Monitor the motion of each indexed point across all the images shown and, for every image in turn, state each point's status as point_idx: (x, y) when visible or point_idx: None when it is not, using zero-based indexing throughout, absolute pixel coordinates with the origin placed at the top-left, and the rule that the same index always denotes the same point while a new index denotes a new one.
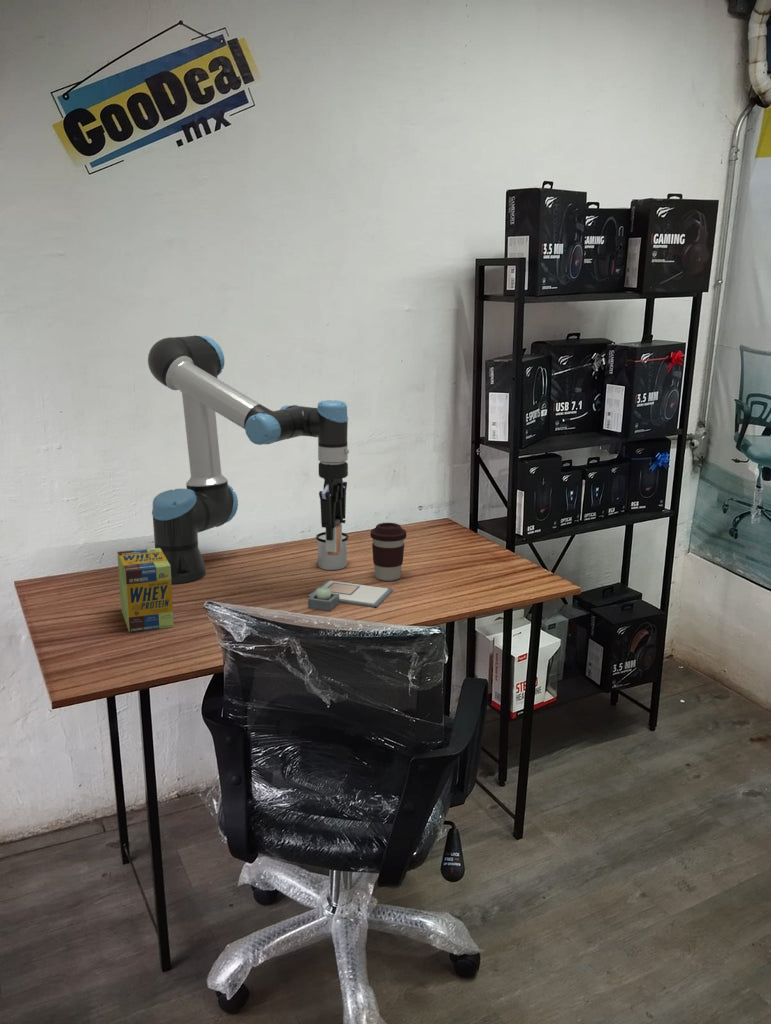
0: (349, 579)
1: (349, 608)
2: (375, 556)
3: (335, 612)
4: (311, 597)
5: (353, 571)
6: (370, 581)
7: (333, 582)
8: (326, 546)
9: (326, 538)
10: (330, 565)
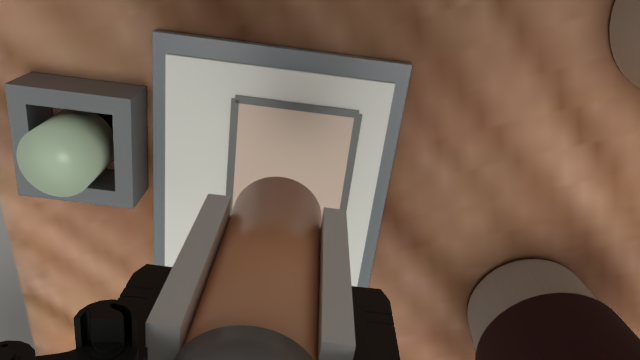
0: (470, 157)
1: (111, 239)
2: (515, 343)
3: (44, 198)
4: (31, 95)
5: (596, 148)
6: (456, 250)
7: (369, 109)
8: (198, 217)
9: (132, 275)
10: (621, 30)
